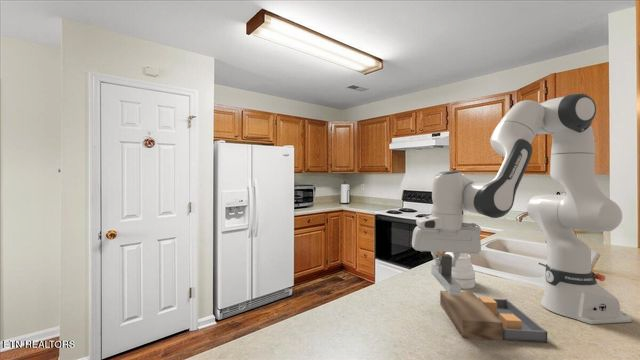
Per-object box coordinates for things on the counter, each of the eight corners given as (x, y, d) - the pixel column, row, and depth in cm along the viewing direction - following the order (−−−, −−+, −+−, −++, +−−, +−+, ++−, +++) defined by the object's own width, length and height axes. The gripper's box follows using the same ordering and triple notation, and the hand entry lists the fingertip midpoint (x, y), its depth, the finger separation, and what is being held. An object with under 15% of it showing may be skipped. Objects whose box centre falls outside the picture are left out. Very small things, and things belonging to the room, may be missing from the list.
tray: (506, 307, 96) (506, 299, 96) (547, 342, 76) (547, 332, 76) (471, 306, 97) (471, 297, 97) (502, 340, 77) (502, 329, 77)
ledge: (471, 306, 97) (471, 292, 97) (502, 340, 77) (502, 322, 77) (440, 304, 98) (440, 290, 98) (462, 337, 78) (463, 320, 78)
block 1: (478, 308, 94) (490, 309, 94) (483, 314, 90) (496, 314, 90) (478, 296, 94) (490, 297, 94) (483, 302, 90) (497, 302, 90)
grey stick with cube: (440, 273, 97) (441, 248, 97) (460, 295, 79) (461, 264, 79) (431, 273, 97) (432, 247, 97) (449, 294, 79) (450, 263, 79)
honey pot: (440, 275, 127) (441, 236, 126) (472, 279, 122) (473, 238, 122) (442, 285, 115) (442, 242, 114) (477, 290, 110) (477, 245, 110)
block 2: (498, 326, 83) (512, 327, 83) (506, 334, 79) (521, 334, 79) (499, 313, 83) (513, 313, 83) (506, 320, 79) (521, 320, 79)
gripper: (476, 221, 90) (474, 264, 90) (411, 219, 92) (410, 260, 92) (485, 225, 83) (484, 270, 84) (415, 222, 86) (414, 266, 86)
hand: (444, 265), depth 88 cm, fingers closed on grey stick with cube, 3 cm apart
